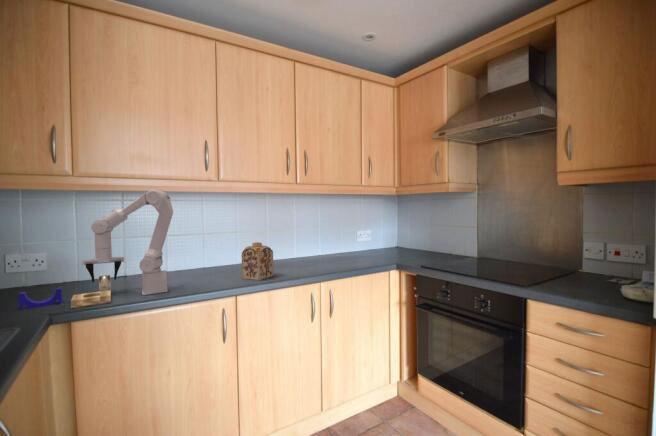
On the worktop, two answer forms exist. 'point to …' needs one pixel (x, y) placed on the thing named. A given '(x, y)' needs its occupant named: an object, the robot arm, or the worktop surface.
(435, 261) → the worktop surface
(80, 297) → the pocket block
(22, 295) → the blue curved cradle
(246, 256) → the decorative jar
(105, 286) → the pin
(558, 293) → the worktop surface
